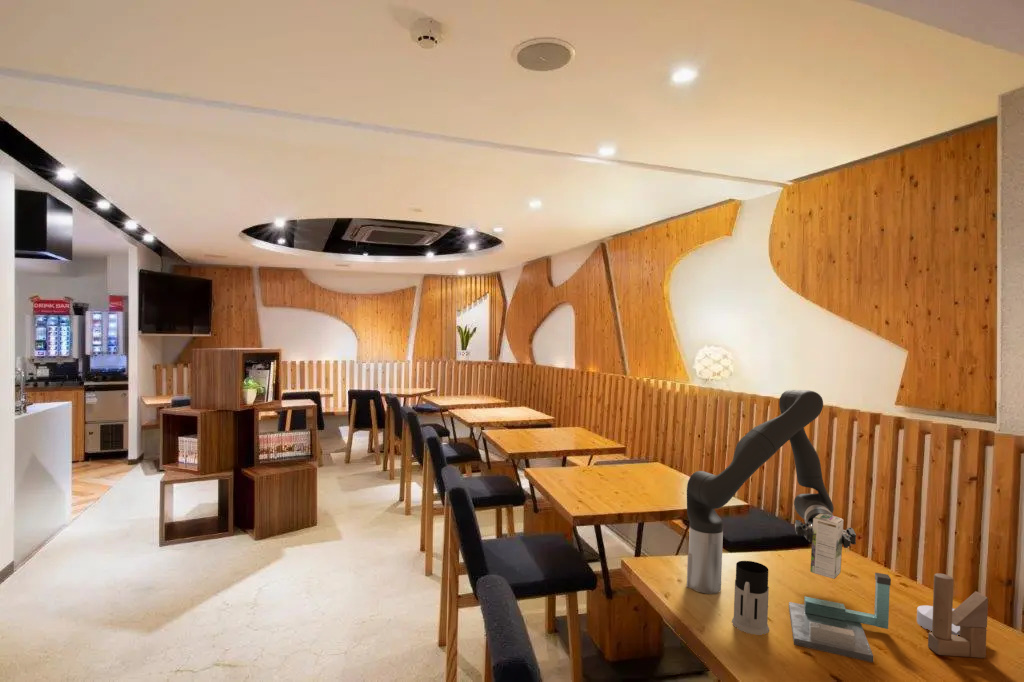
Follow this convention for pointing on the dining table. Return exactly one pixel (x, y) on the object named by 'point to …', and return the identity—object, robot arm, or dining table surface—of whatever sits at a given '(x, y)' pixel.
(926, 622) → the wedge on round base
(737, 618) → the glass holder
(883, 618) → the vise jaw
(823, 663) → the dining table surface
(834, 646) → the vise
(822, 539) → the syrup box
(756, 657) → the dining table surface
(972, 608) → the wooden block
